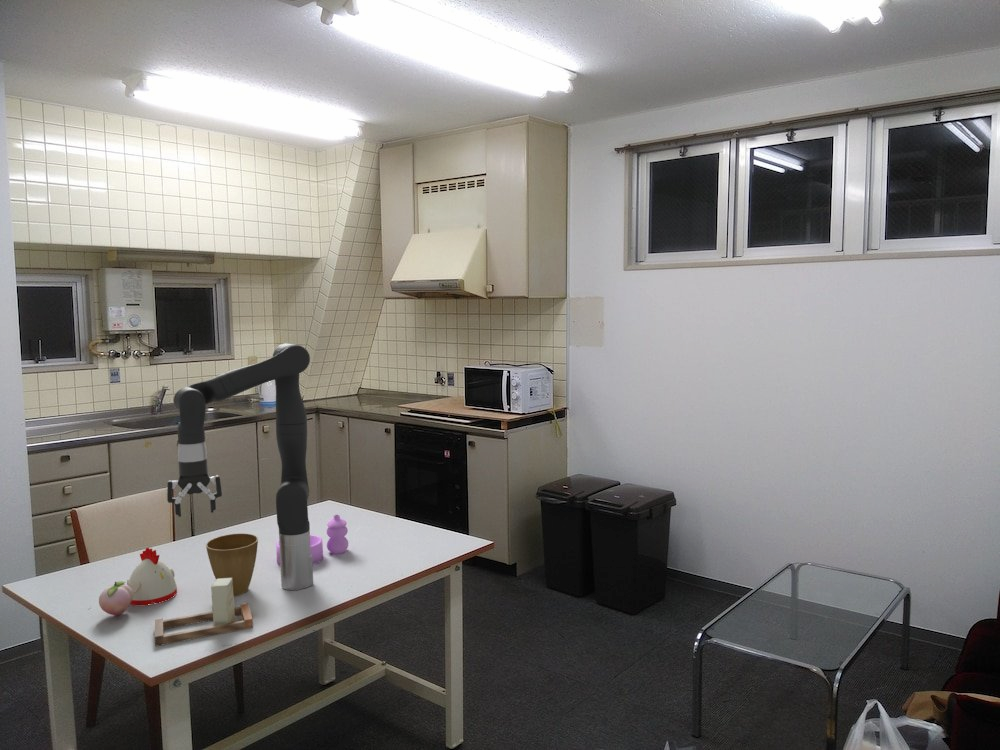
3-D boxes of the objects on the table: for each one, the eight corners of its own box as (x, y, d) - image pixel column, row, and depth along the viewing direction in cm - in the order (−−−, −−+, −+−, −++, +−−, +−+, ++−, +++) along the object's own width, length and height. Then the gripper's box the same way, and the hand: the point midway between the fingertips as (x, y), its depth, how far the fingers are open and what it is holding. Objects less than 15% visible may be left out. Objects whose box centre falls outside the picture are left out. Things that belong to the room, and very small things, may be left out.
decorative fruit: (105, 610, 211) (103, 577, 210) (136, 607, 213) (134, 574, 212) (95, 624, 202) (93, 589, 201) (127, 621, 204) (125, 586, 203)
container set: (285, 571, 241) (283, 532, 239) (271, 558, 253) (269, 521, 252) (356, 555, 255) (355, 518, 253) (339, 544, 267) (338, 508, 266)
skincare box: (230, 629, 198) (227, 585, 197) (212, 630, 197) (210, 586, 196) (235, 619, 204) (233, 577, 203) (218, 620, 204) (216, 577, 202)
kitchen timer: (145, 609, 212) (142, 559, 210) (116, 600, 218) (112, 551, 217) (186, 592, 224) (183, 544, 222) (158, 584, 231) (155, 538, 229)
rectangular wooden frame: (248, 611, 209) (247, 603, 209) (252, 627, 199) (252, 618, 198) (155, 628, 199) (154, 619, 198) (155, 646, 188) (154, 636, 188)
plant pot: (205, 588, 226) (202, 538, 225) (255, 579, 234) (252, 530, 232) (212, 605, 213) (209, 552, 212) (265, 595, 221) (262, 543, 219)
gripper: (218, 453, 213) (221, 507, 215) (164, 458, 207) (168, 514, 209) (220, 458, 206) (223, 514, 208) (165, 463, 200) (168, 521, 202)
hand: (195, 514), depth 208 cm, fingers open, 8 cm apart
